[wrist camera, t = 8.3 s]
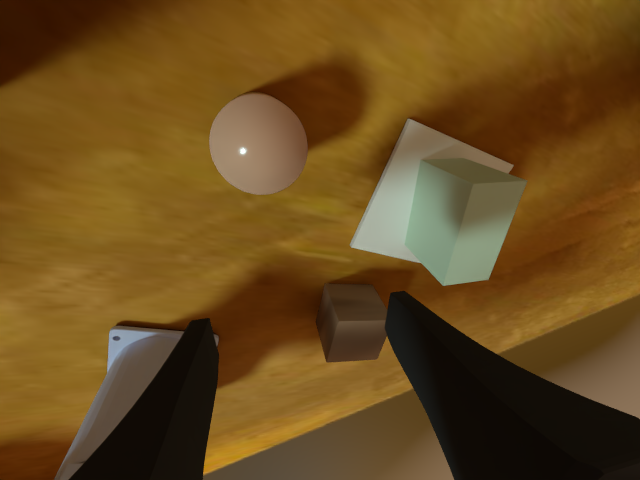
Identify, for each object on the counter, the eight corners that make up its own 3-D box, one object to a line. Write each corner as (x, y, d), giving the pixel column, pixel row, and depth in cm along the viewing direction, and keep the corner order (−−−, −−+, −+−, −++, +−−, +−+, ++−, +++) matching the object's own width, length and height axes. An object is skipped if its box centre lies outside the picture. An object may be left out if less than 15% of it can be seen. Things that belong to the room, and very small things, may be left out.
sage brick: (442, 240, 24) (488, 279, 19) (404, 244, 23) (443, 285, 18) (463, 157, 20) (527, 180, 16) (420, 159, 20) (473, 183, 15)
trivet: (443, 266, 26) (446, 268, 25) (349, 244, 22) (351, 247, 22) (509, 164, 22) (513, 165, 21) (407, 118, 18) (410, 119, 18)
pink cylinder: (282, 176, 19) (291, 204, 14) (214, 156, 17) (201, 180, 13) (303, 108, 17) (320, 117, 13) (229, 78, 15) (220, 77, 11)
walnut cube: (359, 320, 27) (376, 359, 23) (315, 321, 26) (326, 362, 22) (371, 284, 25) (393, 320, 21) (324, 283, 24) (338, 321, 20)
